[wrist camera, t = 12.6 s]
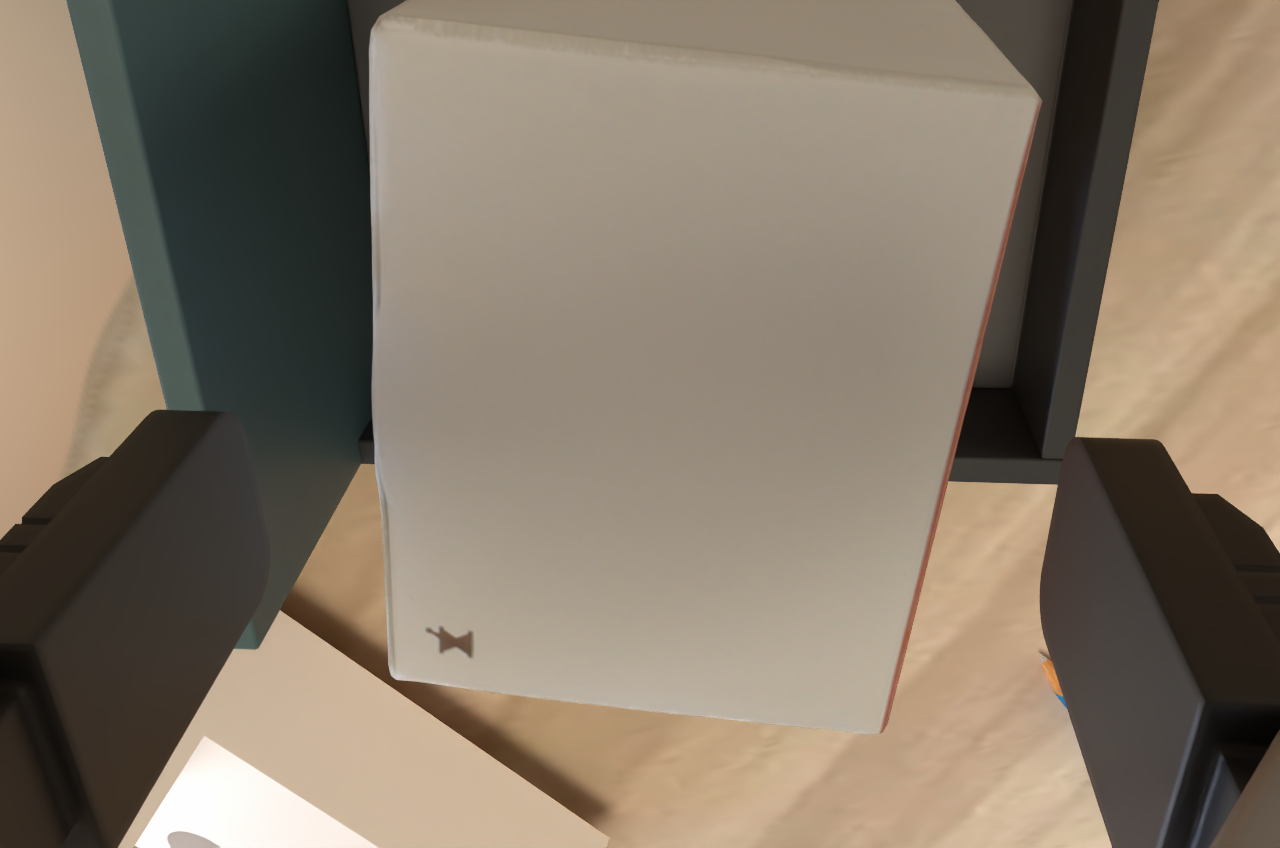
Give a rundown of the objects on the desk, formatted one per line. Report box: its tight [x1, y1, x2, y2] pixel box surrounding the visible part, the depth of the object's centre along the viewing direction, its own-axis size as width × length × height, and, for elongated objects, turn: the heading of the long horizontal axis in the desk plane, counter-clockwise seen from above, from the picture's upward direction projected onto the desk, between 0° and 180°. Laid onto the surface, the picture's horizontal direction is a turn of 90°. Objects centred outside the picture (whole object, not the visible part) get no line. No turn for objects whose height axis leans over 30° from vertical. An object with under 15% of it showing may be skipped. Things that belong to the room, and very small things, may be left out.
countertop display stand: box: [67, 0, 1159, 650], centre depth 23 cm, size 15×13×16 cm
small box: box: [369, 0, 1042, 735], centre depth 18 cm, size 8×6×13 cm
